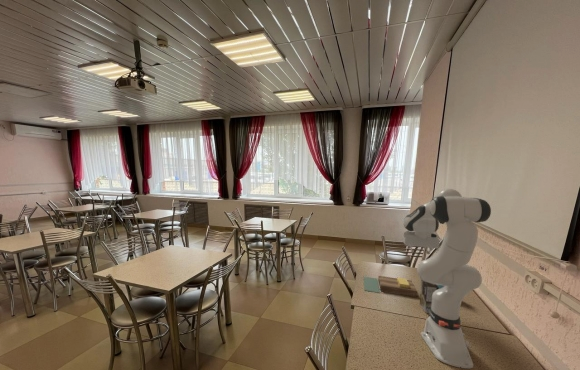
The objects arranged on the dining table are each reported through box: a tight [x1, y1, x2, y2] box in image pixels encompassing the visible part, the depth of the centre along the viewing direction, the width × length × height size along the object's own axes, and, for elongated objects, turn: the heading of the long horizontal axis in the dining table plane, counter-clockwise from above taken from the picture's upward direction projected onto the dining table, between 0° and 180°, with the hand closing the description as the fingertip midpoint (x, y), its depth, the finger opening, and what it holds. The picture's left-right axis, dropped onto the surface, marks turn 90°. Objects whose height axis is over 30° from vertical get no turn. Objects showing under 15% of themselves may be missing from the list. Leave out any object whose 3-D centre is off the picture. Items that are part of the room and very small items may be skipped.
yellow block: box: [396, 277, 410, 288], centre depth 151 cm, size 9×6×2 cm, turn 164°
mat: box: [363, 275, 381, 294], centre depth 157 cm, size 20×10×1 cm, turn 164°
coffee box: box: [419, 278, 439, 315], centre depth 130 cm, size 9×6×16 cm
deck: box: [377, 275, 418, 298], centre depth 152 cm, size 14×22×4 cm, turn 74°
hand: (420, 252), depth 143 cm, fingers open, 8 cm apart
